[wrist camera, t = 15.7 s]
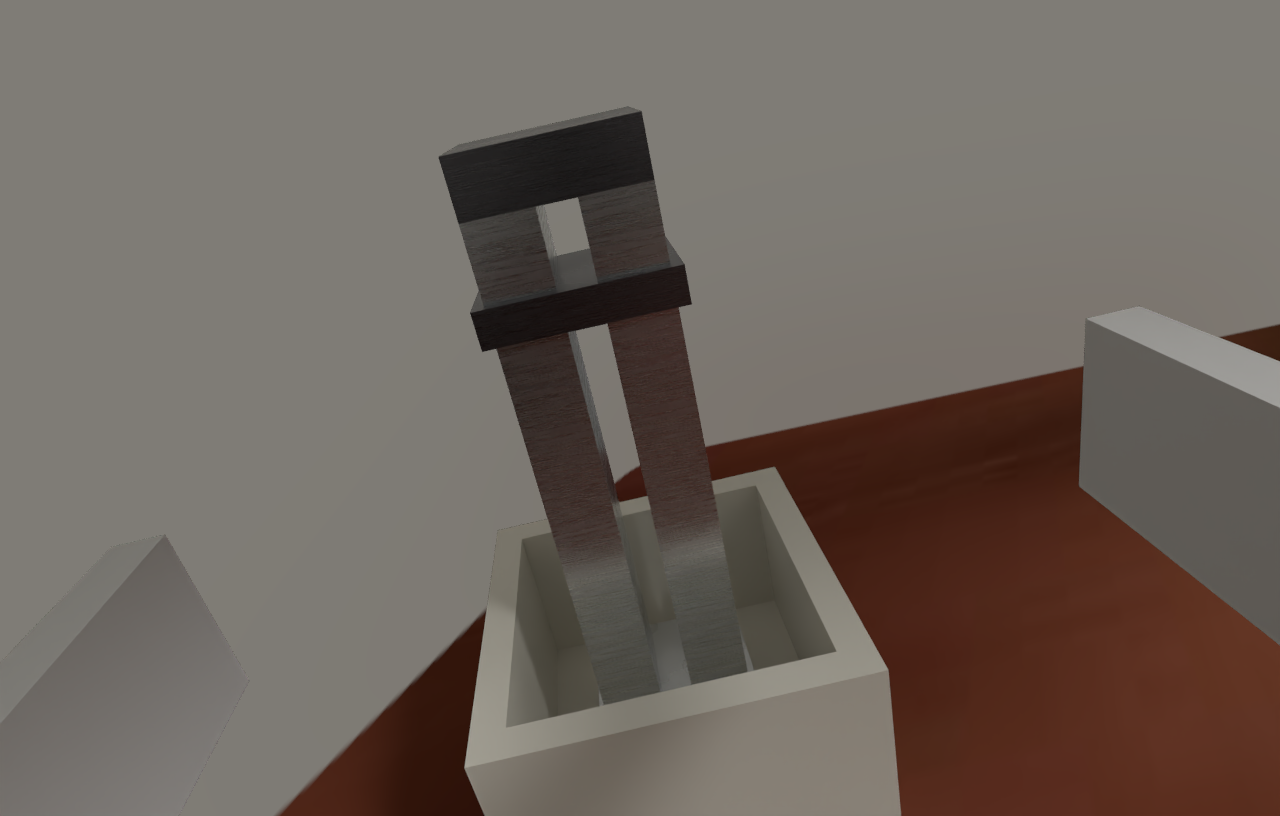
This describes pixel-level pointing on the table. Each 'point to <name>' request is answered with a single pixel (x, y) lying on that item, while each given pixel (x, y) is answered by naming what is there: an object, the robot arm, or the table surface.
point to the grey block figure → (561, 396)
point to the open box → (692, 715)
